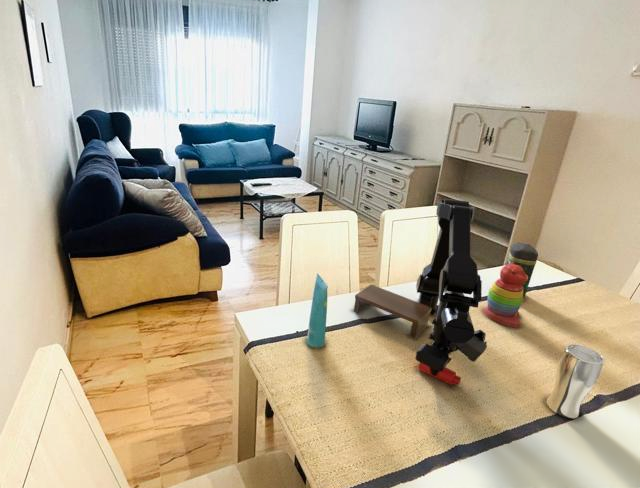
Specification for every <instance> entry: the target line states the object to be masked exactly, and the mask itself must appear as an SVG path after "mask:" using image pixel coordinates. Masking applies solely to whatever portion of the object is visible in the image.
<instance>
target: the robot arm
mask: <svg viewBox="0 0 640 488" xmlns="http://www.w3.org/2000/svg"><path fill="white" fill-rule="evenodd" d="M475 211H476V207H475V206H474V205H470V202H469V200H460V199H453V198H452V199H451V198H443V199H441V200H440V201H438V202H437V206H436V216H437V225H438V226H439V231H438V235H437V239H436V242H435V245H434V250H433V254H432V257H431V261H430V263H429V264H427V265H425V267H423V269H422V273H421V274H419V276H418V278H417V280H416V285H415V288H416V289H415V290H416V293H418V294H419V297H418V301H417V302H418V303H421V304H423V305H426V306H429V307H431V308H432V309H431V312H430V316H432V317H433V316H435V314H436V316H435V317H434V318H433V319H432V323H431V324H432V325H433V329H432V332H431V333H430V334H429V335H428V339H429V340H430V341H433V342H432V343H431V344H429V343H424V344H422V345H421V346H420V347H419V348H418V349H417V351H416V352H415V357H414V359H415V361H417V362H419V363H420V362H421V363H423V364H425V365H427V366H429V368H430V371H431V374H432V375H434V376H437V374H438V372H439V371H443V370H444V369H445V367H446V368H447V366H448V365H449V363H450V362H451V361H452V360H453V358H451V356H450V355H451V354H452V353H453V352H457V351H459V352H460V353H461V354H462V355H464V356H465V357H466V358H467V360H469V361H471V362H474V363H475V362H477V360H478V359H479V358H480V356H482V355H483V353H484V352H485V350H486V349H487V348H488V345H487V344H488V342H487V341H485V340H486V334H487V333H486V332H485V331H483V330H482V329H477V330H475V328H474V324H473V321H472V318H471V314H470V309H471V308H470V307H472V308H477V309H478V308H479V303H480V302H481V301H482V287H483V286H482V283H483V281H482V280H481V276H480V274H479V273H478V264H477V262H476V261H475V260H474V259H473V258H472V253H471V252H472V250H471V249H472V248H471V245H472V244H471V243H472V241H471V222H473V221H474V218H475V217H474V216H475ZM467 295H472V296H467ZM432 375H431V376H432ZM434 376H433V377H434Z"/></svg>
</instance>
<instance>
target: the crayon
mask: <svg viewBox="0 0 640 488" xmlns="http://www.w3.org/2000/svg"><path fill="white" fill-rule="evenodd" d="M418 370H420V371H422V372H424V373H426V374H428V375H430V376H432V377H434V378H436V379H438V380H440V381H442V382H444V383H446V384H448V385H450V386H451V385H453V384H454V385H456V386H459V385H460V384H461V381H462V377H461V376H459V375H457V372H456V371H454V370H452V369H450V368H448V367H447V366H446V367H445V369H444V370H443V371H439V372H438V374H437V376H434V375H432V374H431V371H430V368H429V366H427V365H425V364H423V363H421V362H419V363H418Z"/></svg>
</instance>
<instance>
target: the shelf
mask: <svg viewBox="0 0 640 488" xmlns="http://www.w3.org/2000/svg"><path fill="white" fill-rule="evenodd" d="M354 300H355V301H354V306H353V312H354V313H357V314H359V313H360V312H362V311H363V310H364V309H366V308H367V307H368V306H372V307H375V308H377V309H379V310H382V311H384V312H387V313H388V314H391V315H393V316H396V317H398V318H401V319H403V320H406V321H408V322H410V323H411V328H410V333H409V337H411V338H412V339H416V338H418V336H419V335H420V334H421V333H422V332H423V331H424V330H425V329H426V328H427V327H428V325H429V321H430V316H431V315H430V312H431V309H432V308H431V307H429V306H426V305H423V304H421V303H418V301H415V300H413V299H410V298H408V297H406V296H402V295H400V294H397V293H395V292H393V291H390V290H387V289H385V288H382V287H379V286H377V285H374V284H372V283H371V284H369V285H368V286H366V287H365V288H363V289H362V290H360V291H359V292H357V293H356V294H355V295H354Z"/></svg>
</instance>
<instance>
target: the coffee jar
mask: <svg viewBox="0 0 640 488" xmlns="http://www.w3.org/2000/svg"><path fill="white" fill-rule="evenodd" d="M538 257H539V252H538V250H537V249H535V247H533V246H532V245H531V244H530V243H523V242H516V243H513V244H512V245H511V246H510V249H509V252H508V256H507V260H506V263H505V266H506V265H509V264H510V263H511V262H514V264H515V265H518V266H520V267H521V268H522V269H523V270H524V273H525V274H526V275H527V276H528V280H527V281H526V282H525V283H523V284H521V285H522V286H523V300H524V299H525V298H526V295H527V291H528V288H529V284H530V282H531V279H532V276H533V272H534V269H535V267H536V264H537V261H538Z"/></svg>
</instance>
